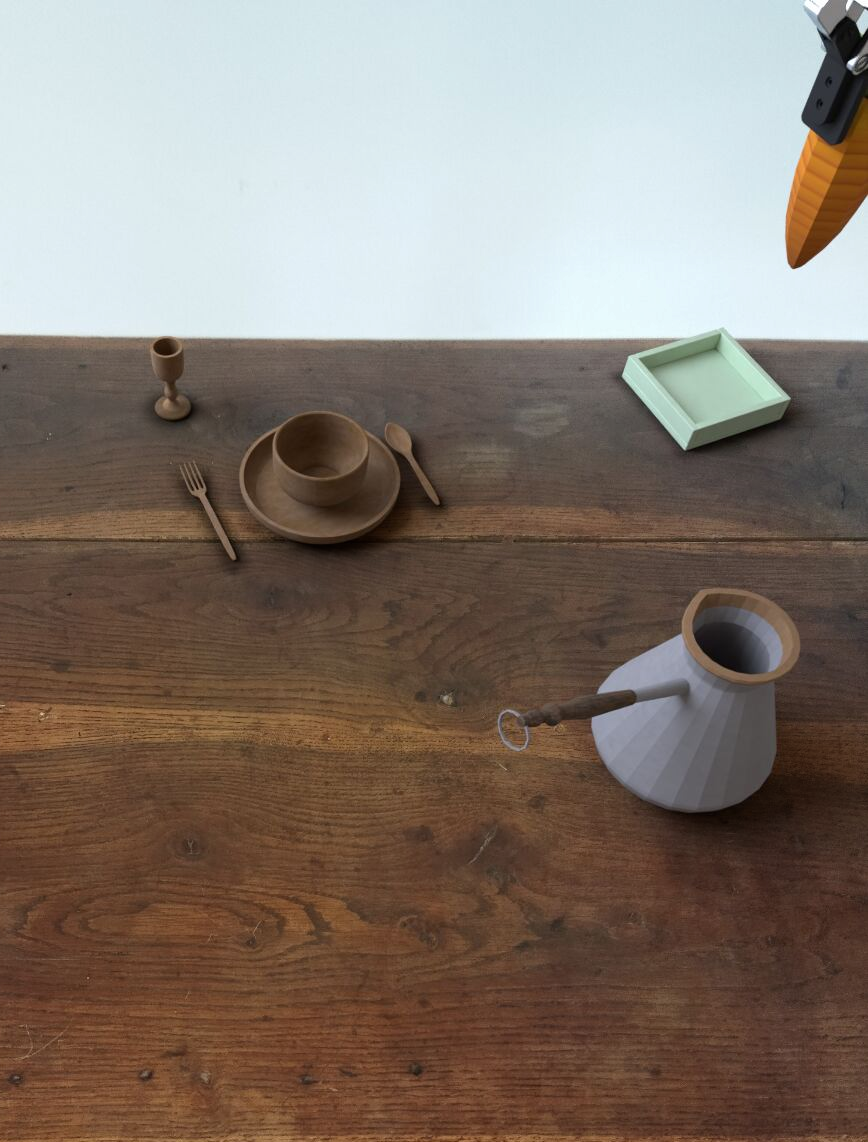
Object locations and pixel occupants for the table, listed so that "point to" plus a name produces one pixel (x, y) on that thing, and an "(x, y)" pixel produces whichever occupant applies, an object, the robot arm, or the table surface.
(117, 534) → the table surface
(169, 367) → the place setting
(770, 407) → the serving dish
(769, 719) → the coffee pot
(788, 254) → the carrot
